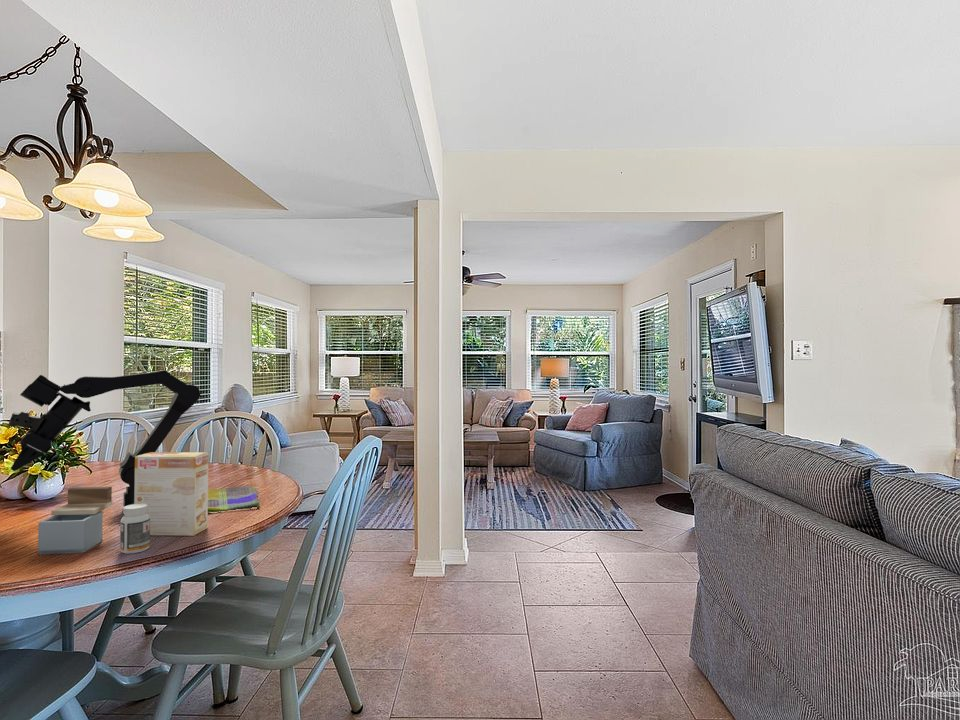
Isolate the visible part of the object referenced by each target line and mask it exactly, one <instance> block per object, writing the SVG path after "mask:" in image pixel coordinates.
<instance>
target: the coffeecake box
mask: <svg viewBox="0 0 960 720" xmlns="http://www.w3.org/2000/svg"><path fill="white" fill-rule="evenodd" d="M208 489H209V452H205V451H204V452H203V451H202V452H201V451H200V452H199V451H197V452H194V451H193V452H192V451H191V452H187V451H186V452H183V451H182V452H180V451H179V452H178V451H177V452H176V451H175V452H172V451H171V452H170V451H169V452H164V451H163V452H162V451H160V452H158V451H156V452H150V453H145V454H142V455H138V456H135V487H134V504H147V506H148V510H147V511H146V513H147V514H148V515H149V516H150V536H173V537H174V536H175V537H177V536H178V537H179V536H180V537H181V536H184V537H187V536H189V537H193V536H196V535H197V534H199V533H201V532H203V531H204V530H206V529H208V528H209V527H208V520H209V519H208V515H209V514H208Z"/></svg>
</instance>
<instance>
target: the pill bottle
mask: <svg viewBox="0 0 960 720" xmlns="http://www.w3.org/2000/svg"><path fill="white" fill-rule="evenodd" d="M122 507H123V506H122ZM147 510H148V506H147V504H132V505H128V506H125V507H123V508H122V513H123V514H124V515H123V516H122V518H121V519H120V527H119V531H120V532H119V533H120V535H119V536H120V539H119V541H120V543H119V544H120V546H119V550H120V552H121V553H123V554H126V555H127V554H128V555H129V554H137V553H142V552H144V551H147V550H149V548H150V546H151V535H150V516H149V515H148V514H147V513H146V511H147Z"/></svg>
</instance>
